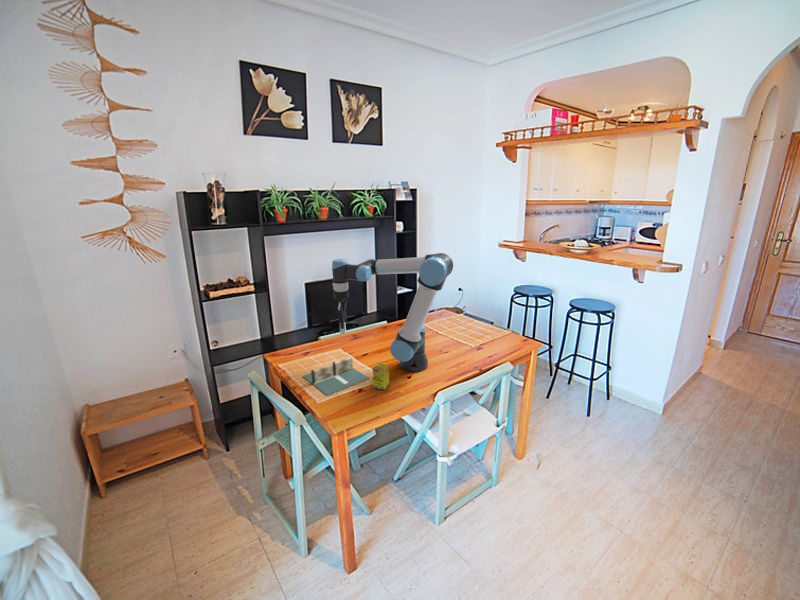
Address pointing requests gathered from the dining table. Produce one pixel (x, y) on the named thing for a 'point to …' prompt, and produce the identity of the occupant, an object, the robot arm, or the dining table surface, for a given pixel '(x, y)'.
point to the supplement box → (380, 376)
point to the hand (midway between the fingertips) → (343, 333)
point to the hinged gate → (342, 366)
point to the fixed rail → (322, 374)
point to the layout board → (338, 381)
